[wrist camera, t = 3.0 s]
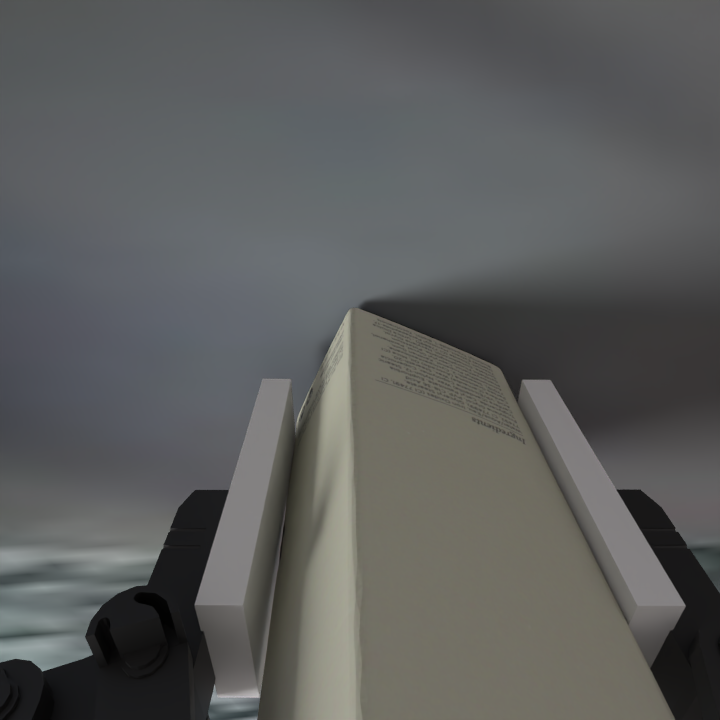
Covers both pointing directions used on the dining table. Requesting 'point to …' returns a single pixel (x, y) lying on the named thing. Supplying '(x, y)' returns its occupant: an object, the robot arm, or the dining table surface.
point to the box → (436, 554)
